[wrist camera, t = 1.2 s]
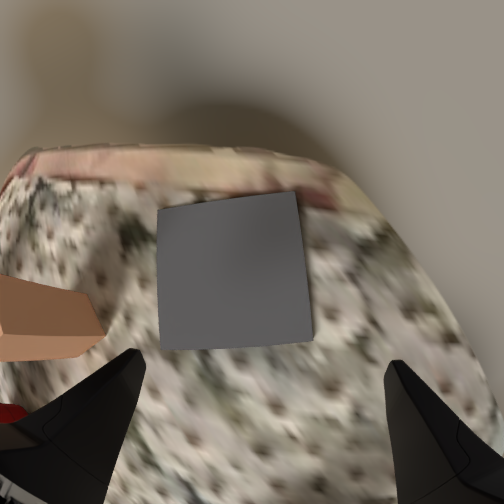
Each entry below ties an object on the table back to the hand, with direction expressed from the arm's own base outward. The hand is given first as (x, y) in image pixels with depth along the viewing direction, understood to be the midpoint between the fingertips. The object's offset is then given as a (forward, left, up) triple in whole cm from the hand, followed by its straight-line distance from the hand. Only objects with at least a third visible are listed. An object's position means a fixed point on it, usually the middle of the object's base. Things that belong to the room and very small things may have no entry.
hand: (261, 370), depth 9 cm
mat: (+3, +6, -14) cm, 16 cm away
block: (-10, +18, -14) cm, 25 cm away
